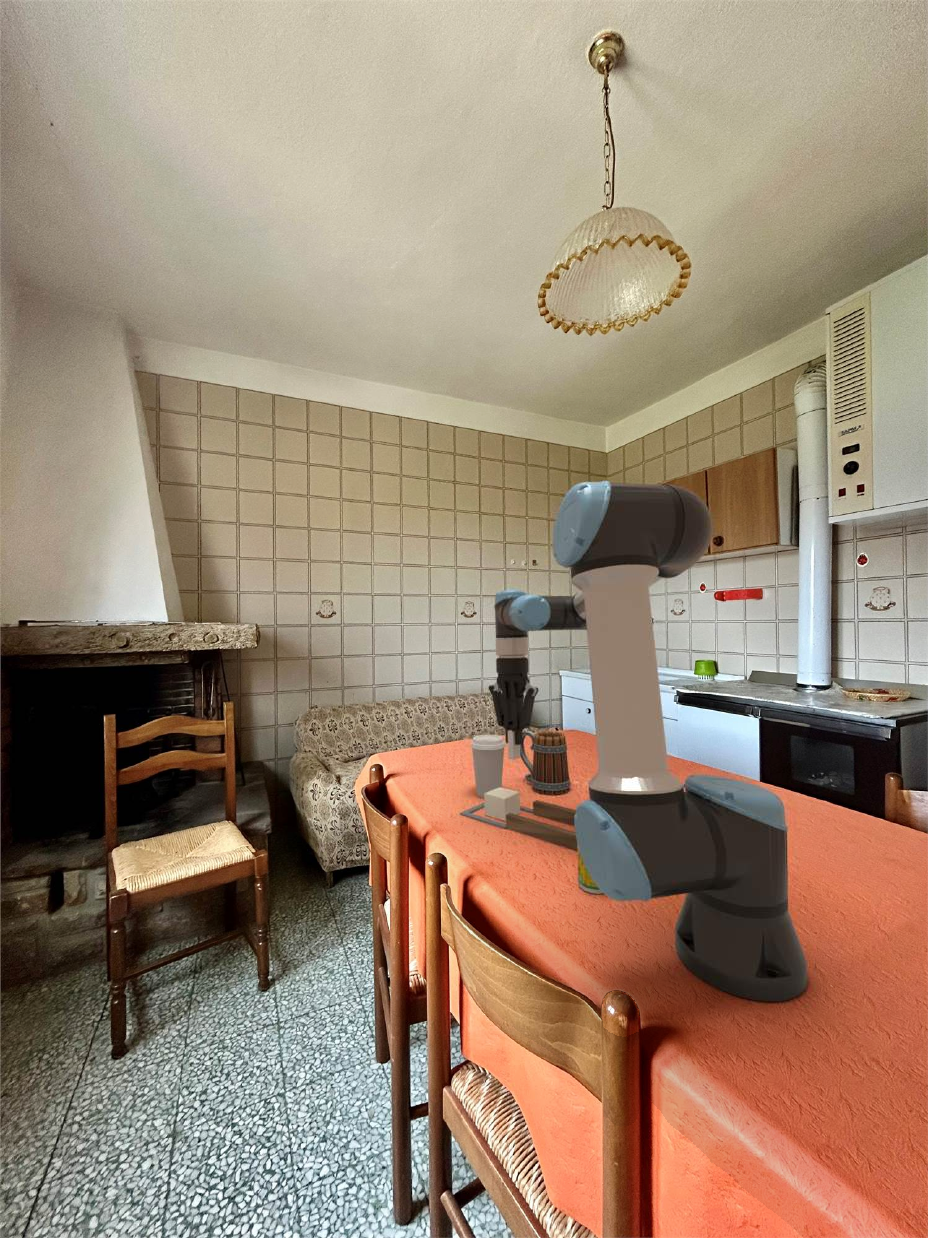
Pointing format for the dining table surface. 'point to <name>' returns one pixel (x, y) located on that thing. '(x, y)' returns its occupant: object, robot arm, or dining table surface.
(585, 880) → the supplement bottle
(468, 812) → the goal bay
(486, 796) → the block
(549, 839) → the chute
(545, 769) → the mug
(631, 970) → the dining table surface
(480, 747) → the coffee cup
